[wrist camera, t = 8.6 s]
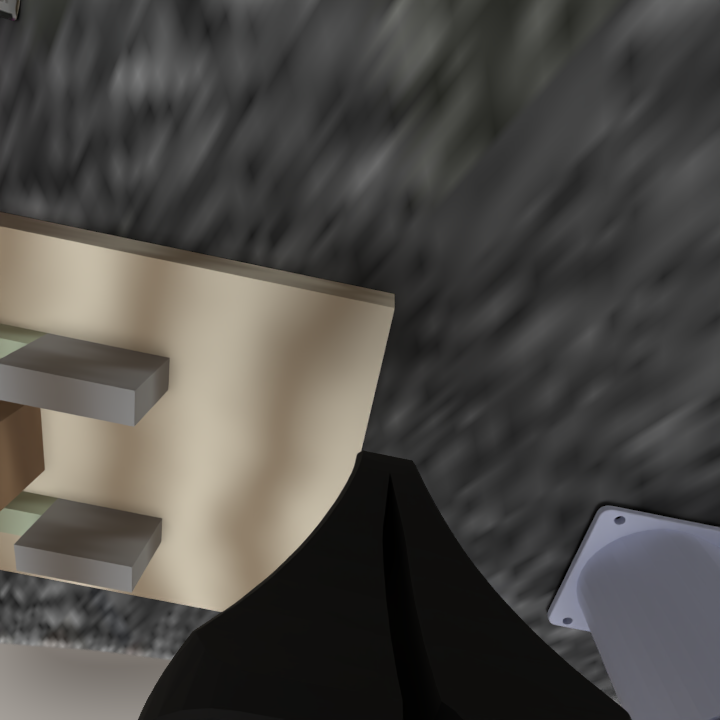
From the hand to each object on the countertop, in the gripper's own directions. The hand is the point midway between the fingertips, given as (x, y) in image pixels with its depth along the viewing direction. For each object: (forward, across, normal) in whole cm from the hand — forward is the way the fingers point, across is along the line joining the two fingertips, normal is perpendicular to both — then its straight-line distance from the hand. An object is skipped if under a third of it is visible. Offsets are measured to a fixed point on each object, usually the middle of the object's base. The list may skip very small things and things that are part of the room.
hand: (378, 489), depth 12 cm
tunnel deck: (+10, +14, +7) cm, 18 cm away
